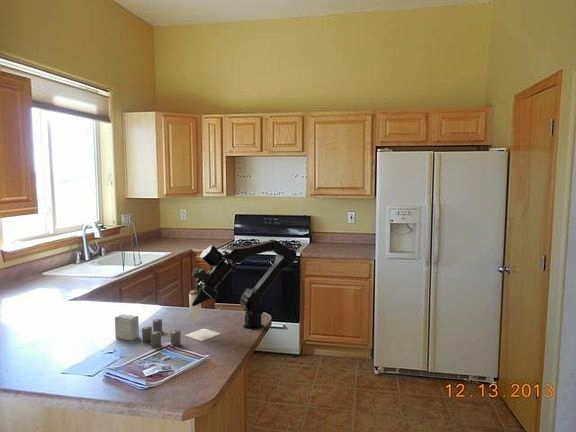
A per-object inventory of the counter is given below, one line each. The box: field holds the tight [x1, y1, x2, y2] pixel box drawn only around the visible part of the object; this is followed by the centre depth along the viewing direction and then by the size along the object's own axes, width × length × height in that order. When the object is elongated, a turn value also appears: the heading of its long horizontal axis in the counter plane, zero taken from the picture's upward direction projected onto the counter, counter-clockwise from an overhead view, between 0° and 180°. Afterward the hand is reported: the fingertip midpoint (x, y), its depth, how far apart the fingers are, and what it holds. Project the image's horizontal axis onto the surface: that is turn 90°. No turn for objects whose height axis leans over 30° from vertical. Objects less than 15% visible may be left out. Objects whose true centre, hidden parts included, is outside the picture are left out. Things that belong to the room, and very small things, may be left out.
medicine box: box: [114, 313, 140, 341], centre depth 163 cm, size 8×4×9 cm, turn 71°
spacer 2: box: [152, 318, 163, 334], centre depth 169 cm, size 4×4×5 cm
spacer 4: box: [170, 329, 182, 348], centre depth 156 cm, size 4×4×5 cm
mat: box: [184, 328, 221, 342], centre depth 166 cm, size 10×10×1 cm
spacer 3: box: [150, 331, 162, 349], centre depth 155 cm, size 4×4×5 cm
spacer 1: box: [141, 326, 153, 343], centre depth 160 cm, size 4×4×5 cm
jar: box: [188, 289, 203, 323], centre depth 165 cm, size 4×4×12 cm
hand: (191, 303), depth 164 cm, fingers closed on jar, 4 cm apart
